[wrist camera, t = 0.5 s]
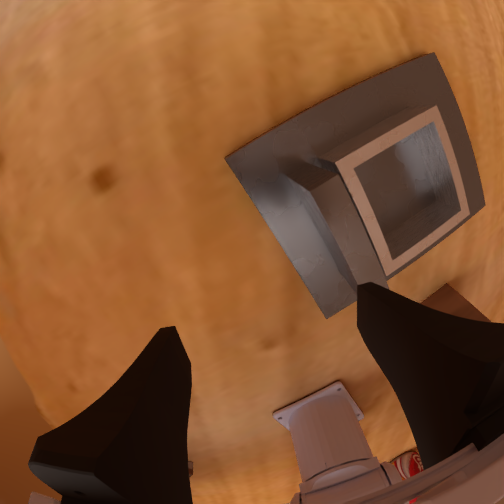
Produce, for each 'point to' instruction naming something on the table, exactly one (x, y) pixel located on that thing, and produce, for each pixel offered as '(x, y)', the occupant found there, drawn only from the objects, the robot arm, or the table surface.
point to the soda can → (408, 466)
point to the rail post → (453, 304)
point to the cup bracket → (365, 180)
